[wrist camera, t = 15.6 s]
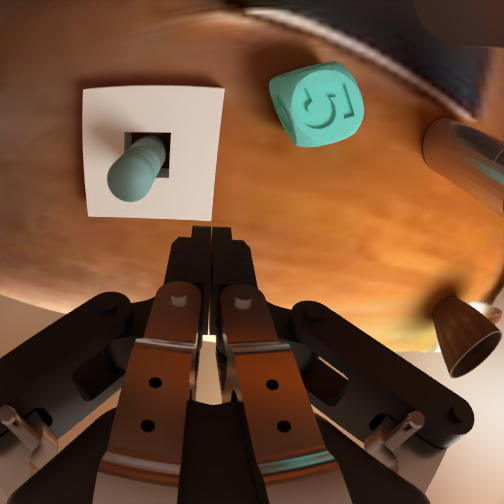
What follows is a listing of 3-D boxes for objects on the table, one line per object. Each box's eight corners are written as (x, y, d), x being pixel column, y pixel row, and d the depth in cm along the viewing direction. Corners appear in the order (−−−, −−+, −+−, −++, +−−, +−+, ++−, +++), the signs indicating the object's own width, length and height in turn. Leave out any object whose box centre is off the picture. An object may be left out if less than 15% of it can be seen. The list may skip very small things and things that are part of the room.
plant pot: (451, 324, 65) (480, 368, 52) (410, 334, 63) (439, 385, 50) (474, 280, 57) (511, 325, 44) (434, 287, 55) (473, 340, 42)
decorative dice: (342, 118, 35) (371, 130, 28) (286, 138, 36) (304, 154, 29) (323, 61, 30) (351, 60, 24) (263, 80, 31) (277, 81, 25)
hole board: (223, 87, 31) (224, 88, 28) (210, 208, 40) (211, 220, 37) (94, 87, 28) (83, 89, 25) (96, 204, 37) (88, 216, 34)
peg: (170, 131, 33) (152, 156, 23) (169, 164, 35) (152, 203, 26) (136, 131, 32) (105, 156, 23) (136, 163, 35) (107, 202, 25)
